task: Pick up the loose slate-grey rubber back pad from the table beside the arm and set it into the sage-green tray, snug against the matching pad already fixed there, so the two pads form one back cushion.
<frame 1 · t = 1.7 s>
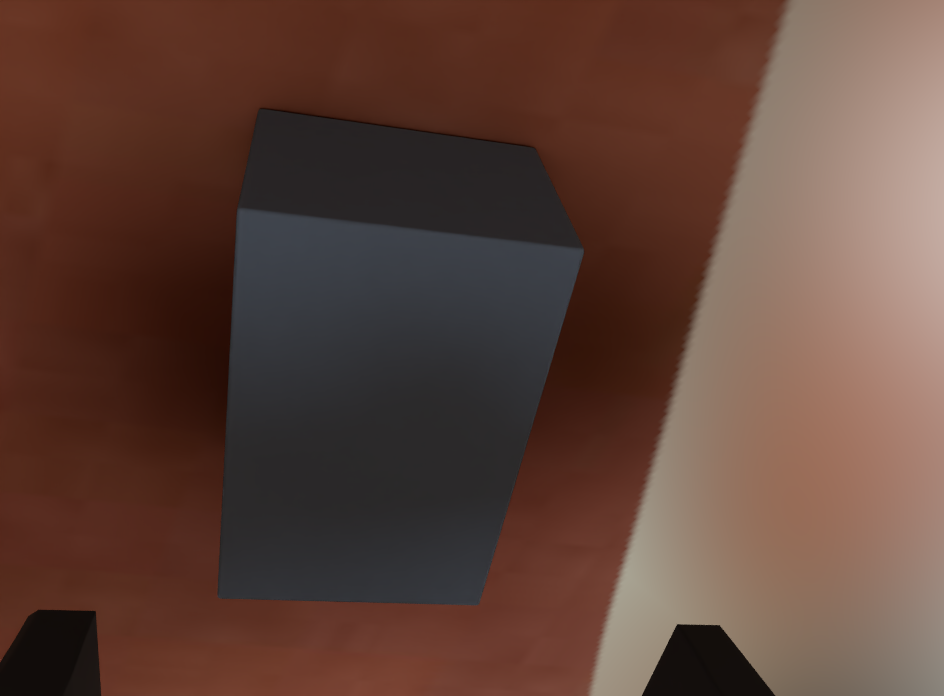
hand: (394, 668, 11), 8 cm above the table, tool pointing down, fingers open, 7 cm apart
loose pad: (372, 315, 18), on the table
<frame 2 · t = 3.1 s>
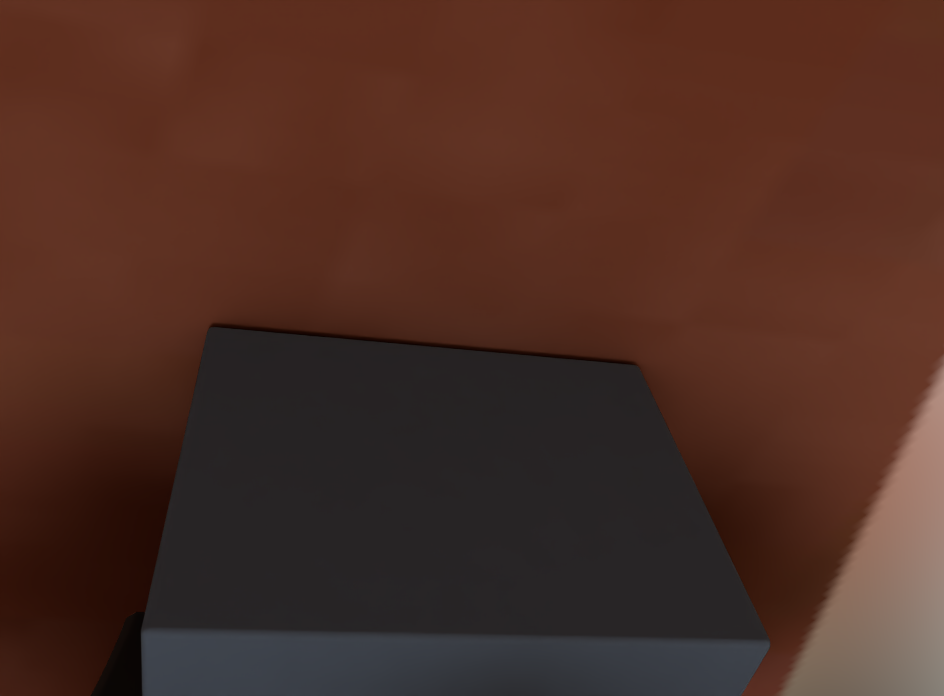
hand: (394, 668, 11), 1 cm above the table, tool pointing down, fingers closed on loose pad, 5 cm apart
loose pad: (386, 580, 12), on the table, touching gripper
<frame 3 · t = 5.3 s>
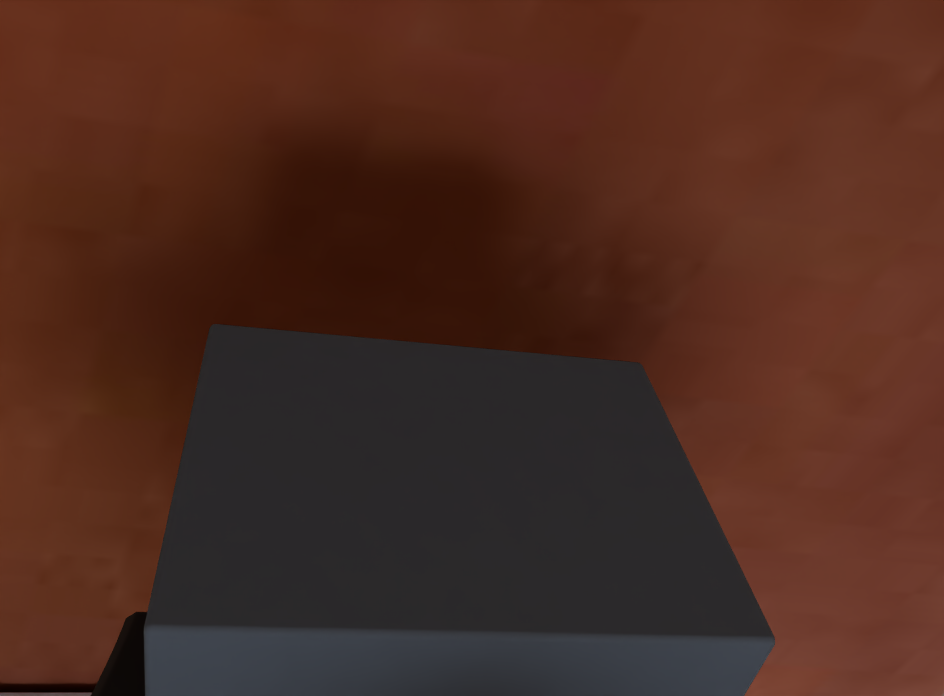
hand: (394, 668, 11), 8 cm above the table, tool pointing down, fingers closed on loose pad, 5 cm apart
loose pad: (388, 578, 12), point 7 cm above the table, touching gripper
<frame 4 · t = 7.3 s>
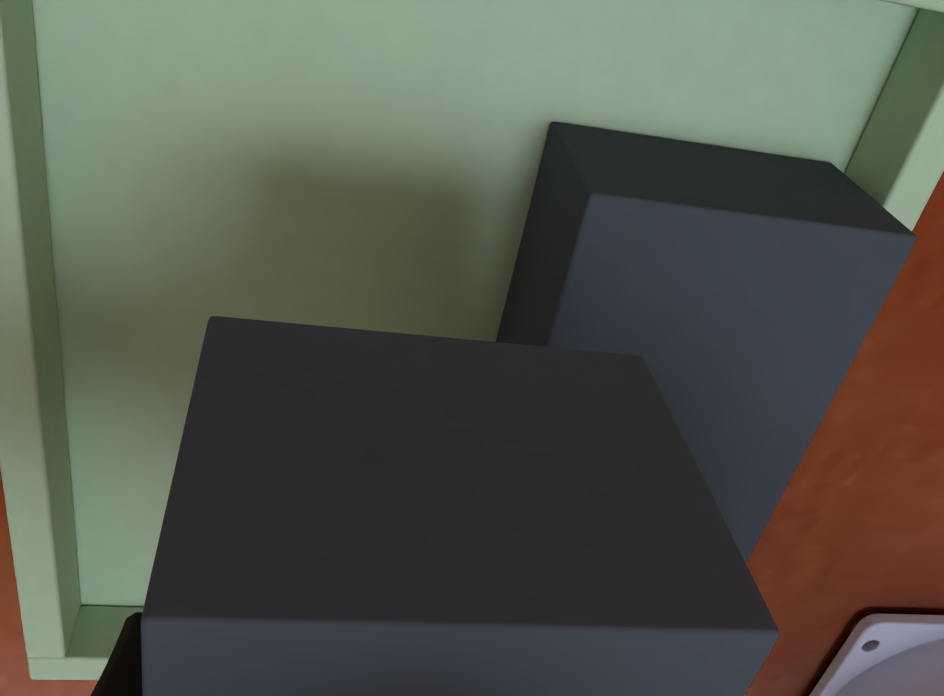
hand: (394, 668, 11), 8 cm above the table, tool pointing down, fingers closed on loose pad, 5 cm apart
loose pad: (388, 573, 12), point 7 cm above the table, touching gripper
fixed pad: (617, 366, 18), resting on tray
tray: (430, 333, 18), on the table
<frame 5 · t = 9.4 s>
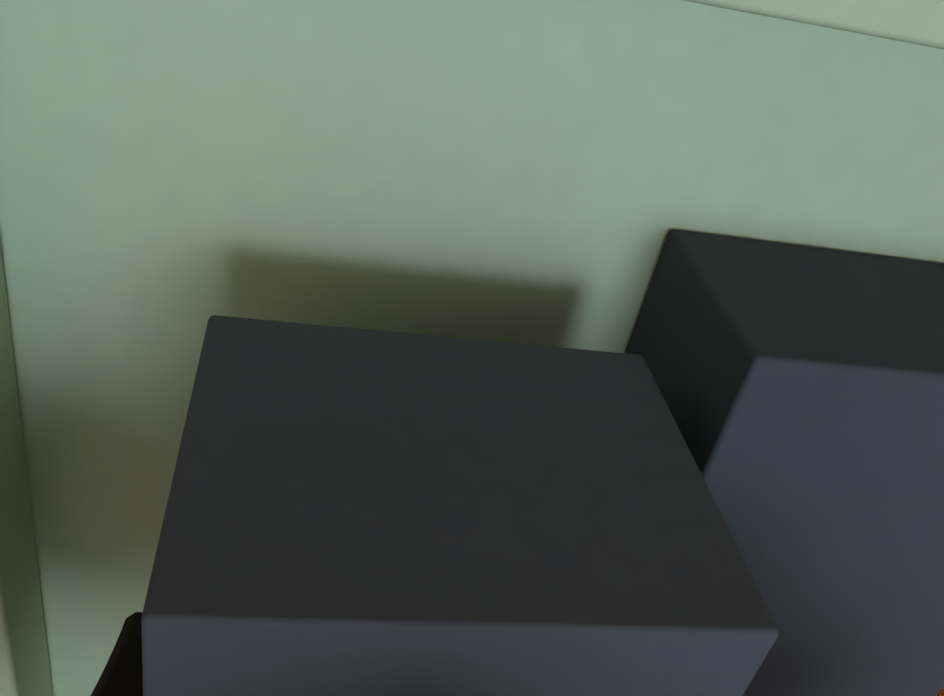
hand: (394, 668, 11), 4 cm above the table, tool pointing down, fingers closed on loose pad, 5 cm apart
loose pad: (388, 573, 12), point 2 cm above the table, touching gripper
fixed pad: (724, 508, 15), resting on tray
tray: (495, 470, 14), on the table
when the fingers open (4 cm above the table, at t = 11.8 s): loose pad drops 2 cm, resting on tray.
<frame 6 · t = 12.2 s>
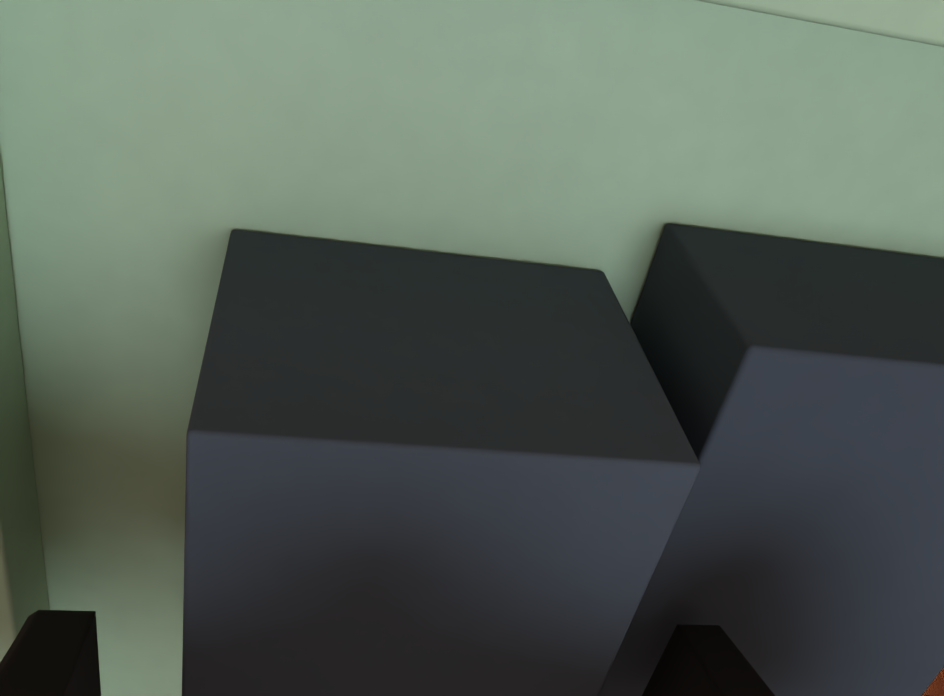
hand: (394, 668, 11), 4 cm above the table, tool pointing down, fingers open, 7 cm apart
loose pad: (384, 473, 14), point 1 cm above the table, touching tray
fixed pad: (721, 500, 15), resting on tray
tray: (494, 462, 15), on the table
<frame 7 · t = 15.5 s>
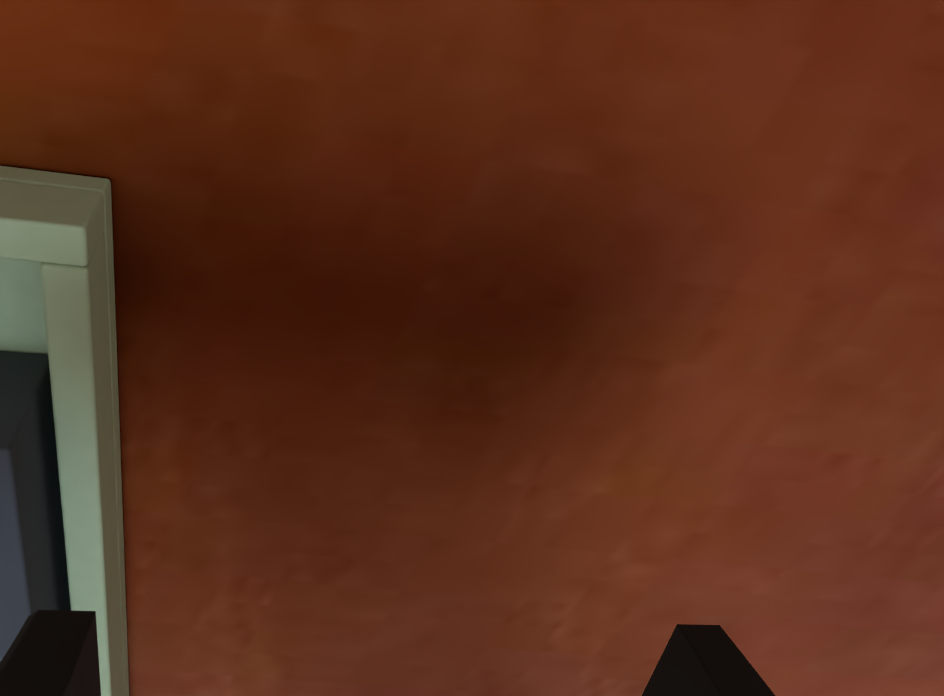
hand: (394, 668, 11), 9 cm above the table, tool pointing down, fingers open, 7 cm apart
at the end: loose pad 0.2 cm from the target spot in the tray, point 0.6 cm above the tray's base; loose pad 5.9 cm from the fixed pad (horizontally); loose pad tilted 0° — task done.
